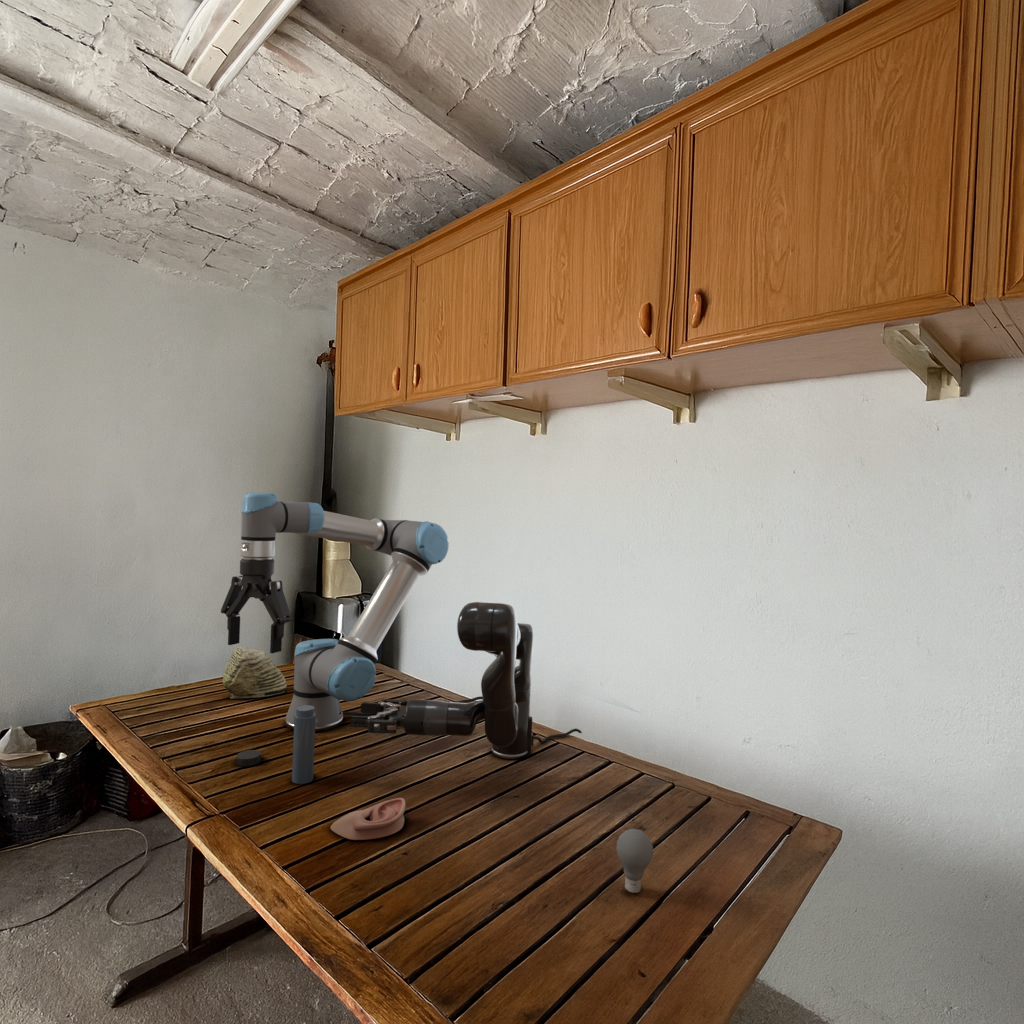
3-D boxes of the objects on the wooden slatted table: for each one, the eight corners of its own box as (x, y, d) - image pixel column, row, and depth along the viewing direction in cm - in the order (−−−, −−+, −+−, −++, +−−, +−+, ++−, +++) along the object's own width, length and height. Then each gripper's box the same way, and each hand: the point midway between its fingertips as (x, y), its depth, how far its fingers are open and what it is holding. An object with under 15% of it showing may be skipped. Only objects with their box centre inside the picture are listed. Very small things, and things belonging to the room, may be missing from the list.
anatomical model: (323, 814, 118) (350, 787, 130) (322, 835, 118) (350, 806, 130) (389, 824, 116) (412, 796, 127) (389, 846, 116) (411, 816, 127)
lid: (252, 755, 153) (252, 747, 153) (265, 761, 150) (265, 753, 150) (231, 762, 149) (231, 754, 149) (244, 768, 146) (244, 760, 146)
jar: (312, 783, 140) (315, 710, 140) (290, 784, 139) (293, 711, 138) (313, 774, 144) (316, 704, 144) (292, 775, 143) (295, 704, 143)
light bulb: (610, 879, 108) (613, 822, 108) (644, 879, 109) (647, 822, 109) (619, 902, 102) (622, 840, 102) (655, 901, 103) (658, 840, 103)
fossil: (218, 695, 195) (220, 647, 195) (278, 685, 208) (279, 640, 207) (228, 703, 189) (230, 653, 188) (289, 692, 201) (290, 645, 201)
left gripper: (206, 555, 151) (203, 643, 151) (285, 563, 140) (281, 659, 140) (232, 553, 158) (229, 638, 158) (309, 561, 147) (306, 652, 147)
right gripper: (433, 690, 148) (364, 687, 148) (423, 712, 133) (347, 708, 134) (432, 722, 148) (363, 718, 148) (422, 747, 134) (346, 743, 134)
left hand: (254, 648), depth 149 cm, fingers open, 13 cm apart
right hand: (355, 714), depth 141 cm, fingers open, 8 cm apart
